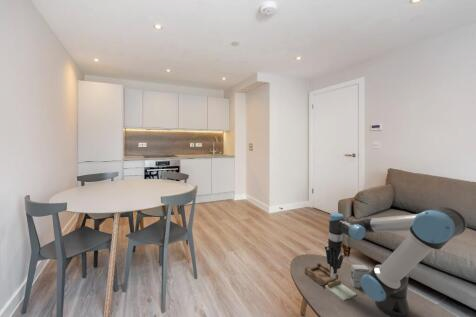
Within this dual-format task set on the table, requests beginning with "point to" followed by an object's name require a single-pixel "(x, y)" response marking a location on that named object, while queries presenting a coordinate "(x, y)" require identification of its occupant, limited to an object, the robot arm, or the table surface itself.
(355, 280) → the ink box
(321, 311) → the table surface
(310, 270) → the walnut box
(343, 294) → the lid
